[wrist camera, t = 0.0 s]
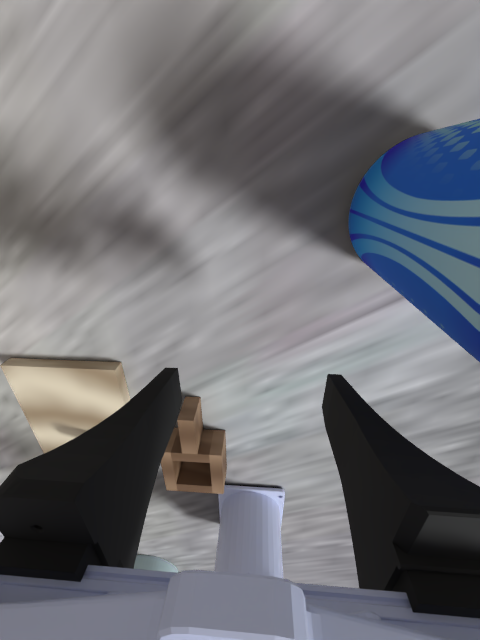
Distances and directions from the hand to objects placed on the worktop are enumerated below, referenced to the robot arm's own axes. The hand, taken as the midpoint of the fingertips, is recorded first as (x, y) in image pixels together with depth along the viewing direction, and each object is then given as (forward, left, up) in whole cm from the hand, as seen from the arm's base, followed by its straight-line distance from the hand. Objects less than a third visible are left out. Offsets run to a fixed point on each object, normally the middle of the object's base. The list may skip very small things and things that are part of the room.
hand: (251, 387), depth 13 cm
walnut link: (-16, +6, -10) cm, 20 cm away
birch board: (-13, +18, -10) cm, 25 cm away
